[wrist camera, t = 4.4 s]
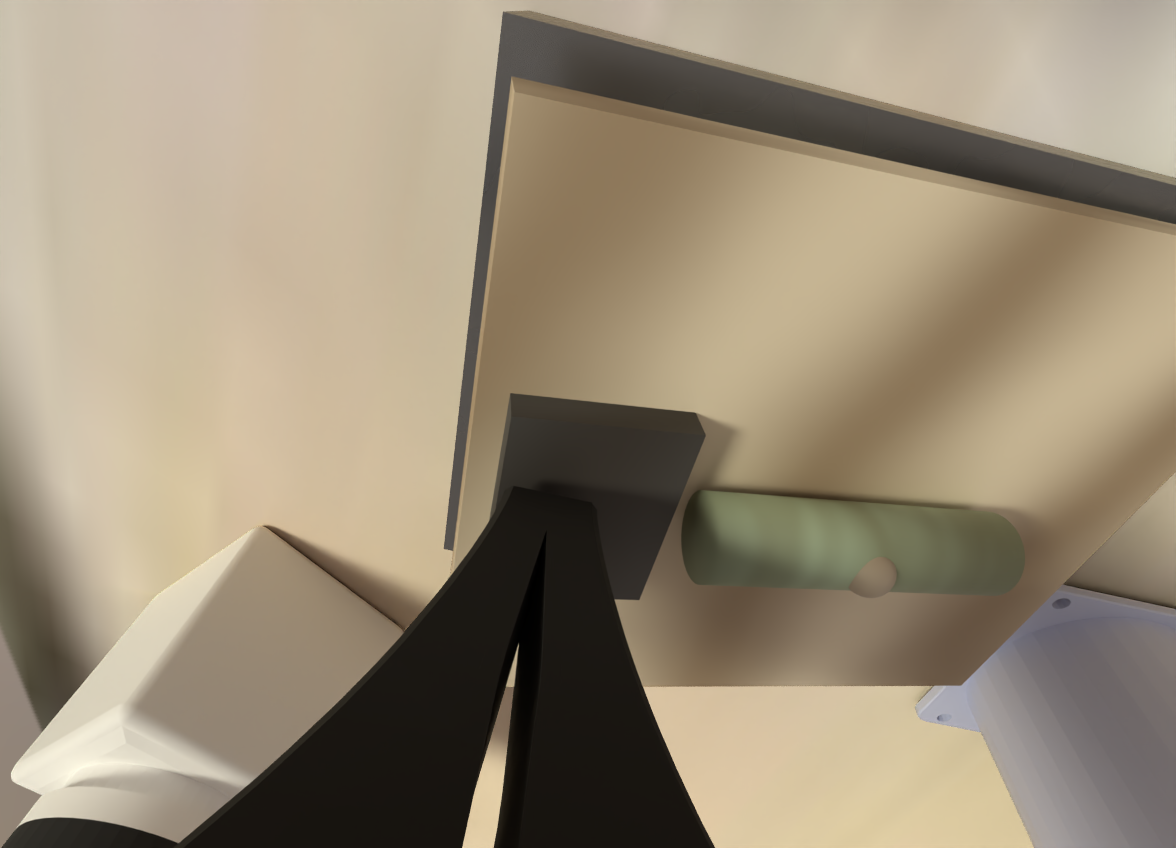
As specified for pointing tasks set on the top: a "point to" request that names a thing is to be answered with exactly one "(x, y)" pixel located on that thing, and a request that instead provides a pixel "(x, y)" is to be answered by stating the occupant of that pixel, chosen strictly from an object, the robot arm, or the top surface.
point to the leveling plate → (811, 390)
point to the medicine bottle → (198, 699)
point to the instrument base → (780, 110)
